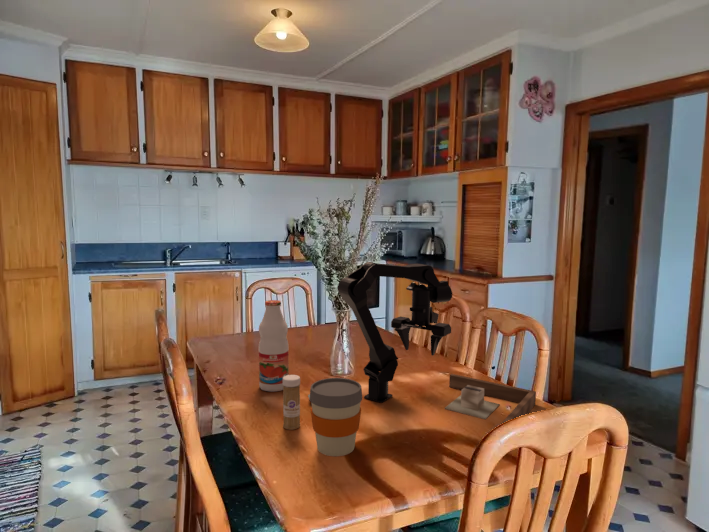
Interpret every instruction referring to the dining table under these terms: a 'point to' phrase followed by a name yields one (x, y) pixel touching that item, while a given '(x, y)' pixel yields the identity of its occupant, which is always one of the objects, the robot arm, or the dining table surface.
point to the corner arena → (494, 390)
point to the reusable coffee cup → (335, 414)
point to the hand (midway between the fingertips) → (419, 352)
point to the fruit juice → (273, 348)
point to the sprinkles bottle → (291, 402)
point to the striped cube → (472, 397)
